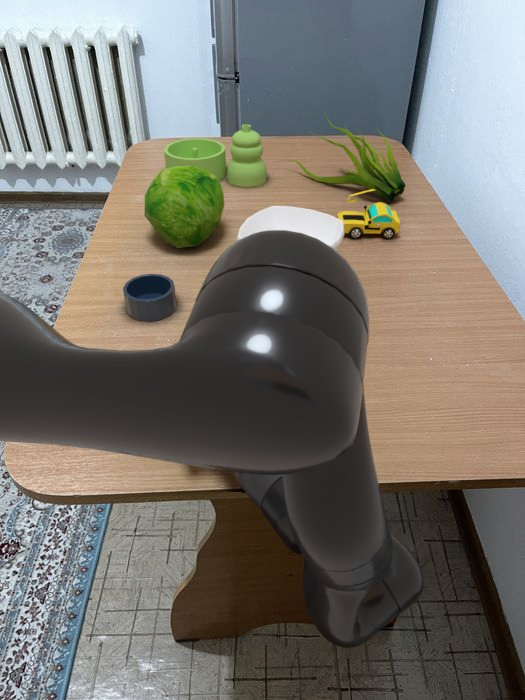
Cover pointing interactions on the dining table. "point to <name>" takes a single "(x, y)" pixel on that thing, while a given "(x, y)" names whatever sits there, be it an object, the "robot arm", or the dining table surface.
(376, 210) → the toy car
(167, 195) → the lettuce
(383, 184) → the decorative plant
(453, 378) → the dining table surface
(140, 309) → the bottle holder
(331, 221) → the bowl
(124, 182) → the dining table surface
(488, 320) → the dining table surface
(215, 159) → the food container
